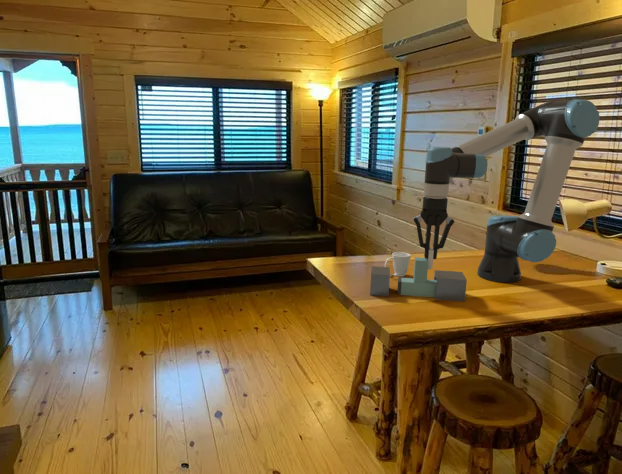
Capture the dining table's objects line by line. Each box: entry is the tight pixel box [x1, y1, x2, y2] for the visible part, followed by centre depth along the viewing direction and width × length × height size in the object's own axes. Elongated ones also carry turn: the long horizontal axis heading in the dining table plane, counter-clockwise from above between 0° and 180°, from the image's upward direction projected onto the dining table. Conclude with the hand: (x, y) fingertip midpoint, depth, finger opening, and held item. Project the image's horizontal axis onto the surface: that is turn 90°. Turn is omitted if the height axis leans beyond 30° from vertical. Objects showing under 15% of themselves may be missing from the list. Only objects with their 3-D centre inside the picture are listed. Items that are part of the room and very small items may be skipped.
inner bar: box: [396, 256, 437, 298], centre depth 155 cm, size 21×4×12 cm, turn 81°
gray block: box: [433, 269, 468, 303], centre depth 154 cm, size 9×9×7 cm
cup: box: [383, 251, 412, 278], centre depth 175 cm, size 7×10×8 cm
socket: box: [369, 265, 391, 297], centre depth 158 cm, size 6×9×7 cm
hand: (429, 268), depth 154 cm, fingers closed
